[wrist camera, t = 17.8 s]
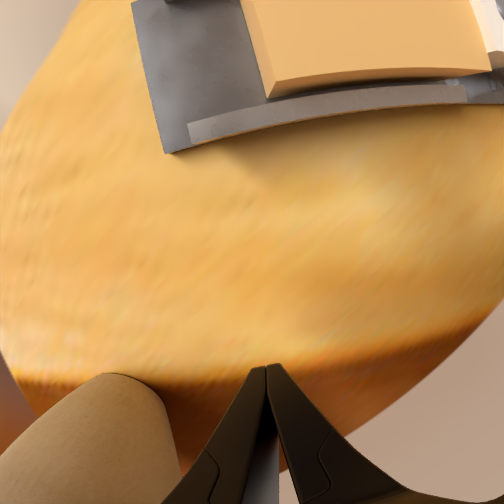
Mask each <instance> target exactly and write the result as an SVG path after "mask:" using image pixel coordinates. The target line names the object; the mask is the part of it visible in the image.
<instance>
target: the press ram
mask: <svg viewBox="0 0 504 504" xmlns="http://www.w3.org/2000/svg"><path fill="white" fill-rule="evenodd" d="M240 3H241V7H242V10H243V13H244V17H245V20H246V24H247V27H248V31H249V34H250V38H251V41H252V45H253V48H254V52H255V55H256V59H257V63H258V66H259V70H260V74H261V78H262V82H263V85H264V89H265V93H266V97H267V99H270V98H275V97H280V96H286V95H291V94H297V93H303V92H309V91H316V90H323V89H330V88H337V87H346V86H355V85H365V84H376V83H390V82H408V81H442V80H447V79H451V78H456V77H461V76H466V75H471V74H477V73H482V72H488V71H492V69H491V65H490V61H489V57H488V54H487V50H486V47H485V43H484V40H483V37H482V34H481V31H480V28H479V25H478V22H477V19H476V17H475V14H474V11H473V9H472V6H471V3H470V1H469V0H240Z"/></svg>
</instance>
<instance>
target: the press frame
mask: <svg viewBox="0 0 504 504" xmlns="http://www.w3.org/2000/svg"><path fill="white" fill-rule="evenodd" d="M131 7H132V12H133V18H134V23H135V28H136V33H137V38H138V43H139V48H140V53H141V57H142V62H143V67H144V71H145V76H146V80H147V84H148V89H149V93H150V97H151V102H152V106H153V110H154V114H155V118H156V122H157V126H158V130H159V134H160V138H161V142H162V146H163V149H164V153H165V154H169V153H173V152H176V151H179V150H183V149H186V148H190V147H193V146H197V145H200V144H204V143H208V142H211V141H215V140H219V139H223V138H227V137H231V136H235V135H239V134H243V133H247V132H252V131H256V130H260V129H265V128H270V127H274V126H279V125H284V124H289V123H294V122H300V121H305V120H311V119H317V118H323V117H329V116H335V115H342V114H349V113H356V112H364V111H372V110H381V109H390V108H401V107H413V106H427V105H446V104H504V67H501V68H495V69H492V71H488V72H482V73H477V74H471V75H466V76H461V77H456V78H451V79H447V80H442V81H408V82H390V83H376V84H365V85H355V86H346V87H337V88H330V89H323V90H316V91H309V92H303V93H297V94H291V95H286V96H280V97H275V98H270V99H267V97H266V93H265V89H264V85H263V82H262V78H261V74H260V70H259V66H258V63H257V59H256V55H255V52H254V48H253V45H252V41H251V38H250V34H249V31H248V27H247V24H246V20H245V17H244V13H243V10H242V7H241V3H240V0H138V1H135V2H132V3H131Z"/></svg>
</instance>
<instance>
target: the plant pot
mask: <svg viewBox="0 0 504 504" xmlns="http://www.w3.org/2000/svg"><path fill="white" fill-rule="evenodd" d="M181 479H182V476H181V471H180V467H179V462H178V457H177V452H176V448H175V443H174V439H173V435H172V431H171V427H170V423H169V420H168V416H167V412H166V409H165V406H164V403H163V402H162V400H161V399H160V397H159V396H158V395H157V394H156V393H155V392H154V391H153V390H152V389H150V388H149V387H148V386H146V385H145V384H143V383H141V382H139V381H137V380H135V379H133V378H130V377H127V376H124V375H120V374H101V375H98V376H96V377H94V378H92V379H90V380H89V381H87V382H86V383H84V384H83V385H81V386H80V387H78V388H77V389H75V390H74V391H73V392H71V393H70V394H68V395H67V396H66V397H64V398H63V399H62V400H60V401H59V402H58V403H57V404H55V405H54V406H53V407H52V408H50V409H49V410H48V411H47V412H46V413H44V414H43V415H42V416H41V417H40V418H38V419H37V420H36V421H35V422H34V423H33V424H32V425H31V426H30V427H29V428H28V429H27V430H25V431H24V432H23V433H22V434H21V435H20V436H19V437H18V438H17V439H16V440H15V441H14V442H13V443H12V444H11V445H10V447H8V448H7V450H6V451H5V452H4V453H3V454H2V455H1V456H0V504H160V503H161V502H162V501H163V500H164V499H165V498H166V497H167V496H168V495H169V493H170V492H171V491H172V490H173V489H174V488H175V487H176V485H177V484H178V483H179V482H180V481H181Z"/></svg>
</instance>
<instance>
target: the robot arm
mask: <svg viewBox="0 0 504 504" xmlns="http://www.w3.org/2000/svg"><path fill="white" fill-rule="evenodd" d="M279 438H280V441H281V445H282V448H283V452H284V455H285V458H286V462H287V465H288V468H289V472H290V475H291V478H292V481H293V485H294V488H295V491H296V494H297V497H298V501H299V504H504V495H502V496H500V497H498V498H496V499H494V500H490V501H487V502H480V503H474V502H465V501H459V500H453V499H448V498H442V497H437V496H433V495H428V494H423V493H419V492H416V491H413V490H410V489H409V488H407V487H405V486H403V485H401V484H400V483H399V482H397V481H395V480H394V479H393V478H392V477H390V476H389V475H388V474H386V473H385V472H383V471H382V470H381V469H379V468H378V467H377V466H376V465H374V464H373V463H372V462H370V461H369V460H368V459H367V458H365V457H364V456H363V455H361V453H359V452H358V451H357V450H356V449H355V448H353V446H352V445H351V444H350V443H349V442H348V441H347V440H346V439H345V438H344V437H343V436H342V435H341V434H340V433H339V432H338V431H337V429H336V428H334V426H333V425H332V424H331V423H330V422H329V420H328V419H327V418H326V417H325V416H324V415H323V414H322V412H321V411H320V410H319V409H318V408H317V407H316V405H315V404H314V403H313V402H312V401H311V400H310V398H309V397H308V396H307V395H306V394H305V393H304V391H303V390H302V389H301V388H300V387H299V385H298V384H297V383H296V382H295V381H294V379H293V378H292V377H291V376H290V375H289V373H288V372H287V371H286V370H285V369H284V367H283V366H282V365H281V364H280V363H275V364H270V365H267V366H266V367H265V366H260V367H255V368H252V369H251V370H250V372H249V374H248V375H247V377H246V379H245V381H244V382H243V384H242V386H241V387H240V389H239V391H238V393H237V394H236V396H235V398H234V399H233V401H232V403H231V404H230V406H229V408H228V409H227V411H226V413H225V414H224V416H223V418H222V419H221V421H220V423H219V424H218V426H217V427H216V429H215V431H214V432H213V434H212V436H211V437H210V439H209V440H208V442H207V444H206V445H205V447H204V449H203V450H202V451H201V453H200V454H199V456H198V458H197V459H196V461H195V462H194V463H193V465H192V466H191V468H190V469H189V471H188V472H187V473H186V474H185V476H184V477H183V478H182V479H181V481H180V482H179V483H178V484H177V485H176V487H175V488H174V489H173V490H172V491H171V492H170V493H169V495H168V496H167V497H166V498H165V499H164V500H163V501H162V502H161V503H160V504H279Z"/></svg>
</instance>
